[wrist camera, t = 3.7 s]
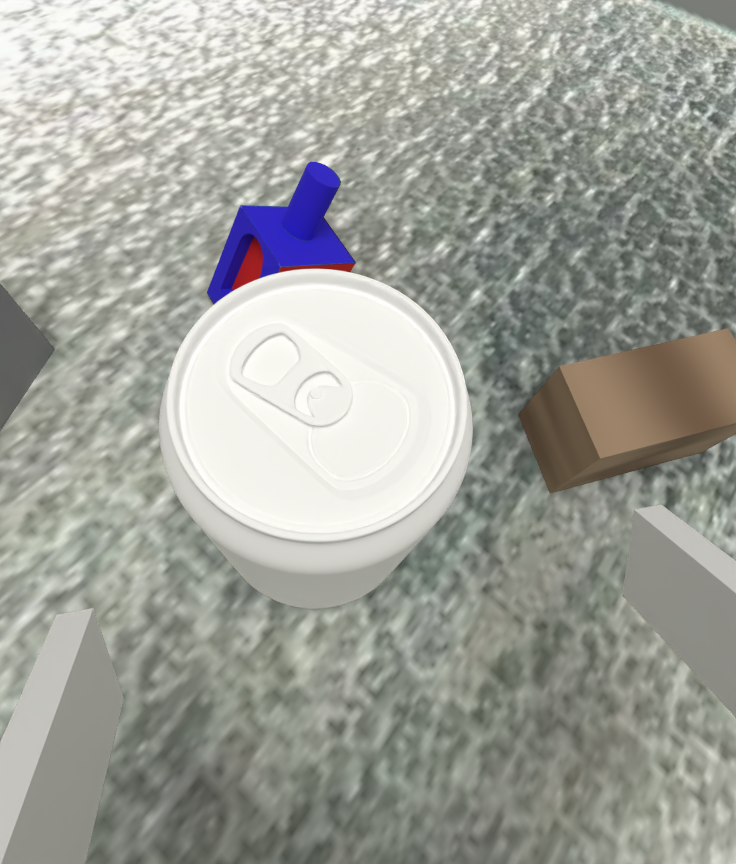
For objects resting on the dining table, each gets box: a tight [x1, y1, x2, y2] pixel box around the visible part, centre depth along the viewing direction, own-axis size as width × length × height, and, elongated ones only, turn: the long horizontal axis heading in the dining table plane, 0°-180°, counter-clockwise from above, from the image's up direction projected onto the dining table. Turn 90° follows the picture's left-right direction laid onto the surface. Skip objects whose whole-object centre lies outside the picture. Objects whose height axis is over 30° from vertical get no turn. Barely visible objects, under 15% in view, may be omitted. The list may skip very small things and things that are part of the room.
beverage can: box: [159, 269, 473, 609], centre depth 19 cm, size 8×8×12 cm
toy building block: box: [207, 162, 356, 304], centre depth 26 cm, size 4×4×8 cm
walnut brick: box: [519, 328, 736, 493], centre depth 25 cm, size 8×4×5 cm, turn 106°
